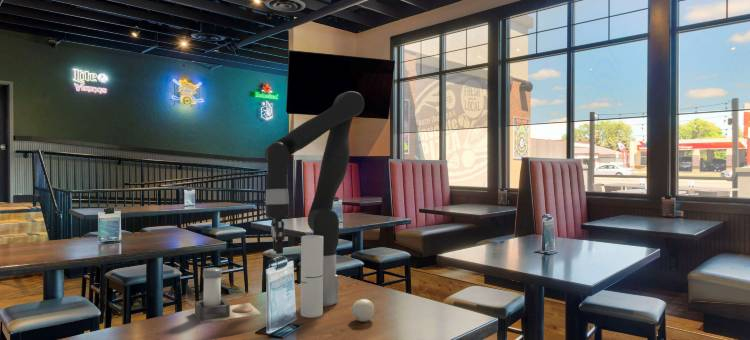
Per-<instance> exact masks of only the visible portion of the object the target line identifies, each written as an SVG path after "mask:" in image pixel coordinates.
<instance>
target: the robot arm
mask: <svg viewBox="0 0 750 340" xmlns="http://www.w3.org/2000/svg"><path fill="white" fill-rule="evenodd" d="M364 108H365V99H364V97H363V95H361V93H359V92H357V91H356V90H355V91H352V90H349V91H346V92H343V93H340V94H339V95H337V96H336V98H335V99H334V102H333V104H332V106H330V107H329V108H328V109H326V110H325V111H323V112H322V113H320V114H318V115H316V116H314V117H312V118H309V119H307V120H306V121H304V122H303V123H302V124H300V125H298V126H297V127H295V128H294V129H293V130H291V131H289V132H288V133H287V134H286V135H285V136H283V137H281V138H280V139H278V140H276V141H274V142H272V143H270V144H269V145H268V146H267V147H266V148H265V150H264V159H265V161H267V173H266V177H265V189H266V190H265V217H266V218H267V219H271V218H272V220H271V223H270V228H271V238H272V246H273V247H272V248H273V249H272V251H274V252H275V254H277V255H281V254H284V241H285V222H284V220H283V218H288V217H289V216H290V206H289V205H290V196H289V189H288V188H289V186H288V185H289V179H288V169H289V164H290V162H289V161H290V157H291V156H292V155H293V154H295V153H296V152H297V151H300V150H302V149H304V148H306V147H307V146H309V145H310V144H311V143H313V142H315V141H316V140H317V139H319V138H320V137H321V136H323V135H324V134H325V133H327V132H328V136H327V139H326V143H325V148H324V151H323V154H322V159H321V164H320V169H319V170H320V171H319V174H318V178H317V185H316V188H315V194H314V197H313V200H312V203H311V205H310V209H309V211H308V215H307V225H308V227H309V229H310V230H311V231H313V233H312V235H320V236H323V307H327V306H328V307H330V306H332V305H334V304H338V303H339V276H338V274H337V249H338V246H339V235H340V219H339V216H338V213H336V211H335V210H333V205H334V201H335V198H336V194H337V192H338V190H339V188H340V186H341V185H342V183H343V181H344V179H345V177H346V173H347V170H348V165H349V163H350V162H349V161H350V140H349V136H350V130H351V129H350V128H351V126H352V123H353V119H354V118H356V117H357V116H359V115H360V114H361V113H362V112H363V111H364Z"/></svg>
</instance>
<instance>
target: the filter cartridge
mask: <svg viewBox="0 0 750 340" xmlns="http://www.w3.org/2000/svg"><path fill="white" fill-rule="evenodd" d="M222 271H223V270H222V268H221V267H207V268H204V269H203V270H202V278H203V301H204V307H203V308H206V307H213V306H220V305H221V298H222V295H221V294H222V293H221V292H222V289H221V288H222V287H221V286H222Z"/></svg>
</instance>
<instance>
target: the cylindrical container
mask: <svg viewBox="0 0 750 340" xmlns="http://www.w3.org/2000/svg"><path fill="white" fill-rule="evenodd" d="M323 307H324V306H323V236H320V235H313V234H307V235H302V236H301V237H300V316H301V317H304V318H318V317H321V316H323V313H324V308H323Z"/></svg>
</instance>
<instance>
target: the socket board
mask: <svg viewBox="0 0 750 340" xmlns="http://www.w3.org/2000/svg"><path fill="white" fill-rule="evenodd" d="M203 307H204V300H198V301H194V310H193V311H192V312H193V314H194V315H195V317H196V318H197V320H198V321H199V323H200V325H201V324H206V323H213V322H220V321H224V320H225V321H226V320H231V319H238V318H239V319H240V318H244V317H249V316H257V315H261V314H262V313H261V312H260V311H259V310H258V309H257V308H256V307H255V306H254V305H252V304H251V303H250V302H245V303H240V304H234V305H233V304H232V305H231V304H229V303H228V301H227V300H226V299H225V298H223V297H221V305H220V306H213V307H206V308H203Z"/></svg>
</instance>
